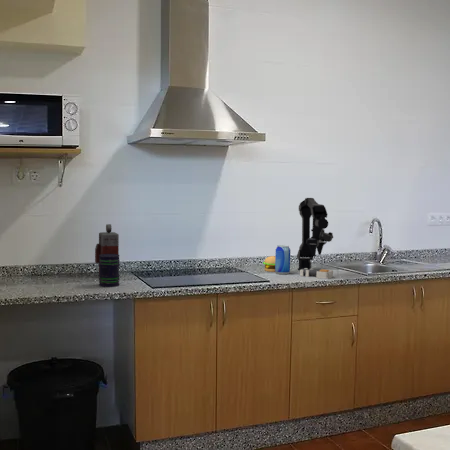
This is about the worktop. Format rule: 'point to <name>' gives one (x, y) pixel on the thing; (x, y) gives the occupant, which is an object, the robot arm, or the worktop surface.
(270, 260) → the hamburger
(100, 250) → the thermos flask
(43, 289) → the worktop surface
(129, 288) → the worktop surface
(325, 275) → the cream arch-shaped block
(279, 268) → the beer can
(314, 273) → the stamp-like rod
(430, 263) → the worktop surface
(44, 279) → the worktop surface
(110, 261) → the storage jar
